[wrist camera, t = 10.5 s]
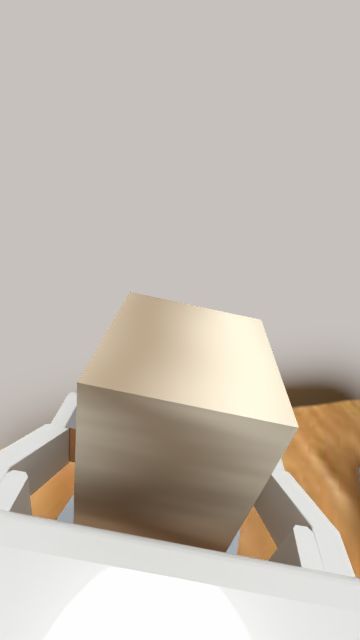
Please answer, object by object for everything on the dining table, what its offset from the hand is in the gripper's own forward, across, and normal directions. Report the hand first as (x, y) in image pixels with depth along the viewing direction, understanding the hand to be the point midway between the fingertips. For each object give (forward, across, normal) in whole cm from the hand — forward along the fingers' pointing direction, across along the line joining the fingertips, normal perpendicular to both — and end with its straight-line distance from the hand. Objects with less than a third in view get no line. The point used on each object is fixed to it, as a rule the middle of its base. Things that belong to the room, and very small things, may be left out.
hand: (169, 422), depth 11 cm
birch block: (-1, 0, +6) cm, 6 cm away
